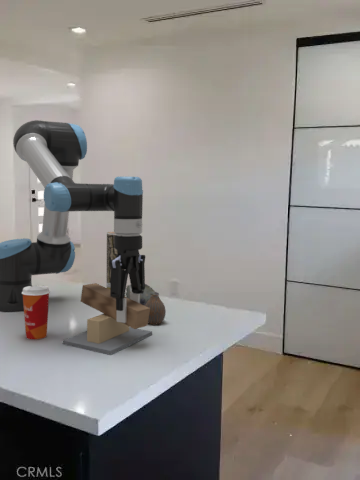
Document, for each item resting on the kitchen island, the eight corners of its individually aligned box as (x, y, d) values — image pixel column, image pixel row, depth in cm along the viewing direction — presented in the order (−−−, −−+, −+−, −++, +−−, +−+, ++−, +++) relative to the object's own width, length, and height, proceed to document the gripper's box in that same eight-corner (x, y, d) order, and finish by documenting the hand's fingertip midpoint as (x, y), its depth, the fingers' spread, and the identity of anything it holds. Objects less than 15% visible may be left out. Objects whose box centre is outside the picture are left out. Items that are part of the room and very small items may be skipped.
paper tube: (120, 299, 185) (121, 233, 182) (103, 297, 186) (104, 232, 184) (126, 295, 192) (126, 232, 189) (109, 294, 193) (110, 231, 190)
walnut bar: (80, 301, 141) (82, 285, 140) (93, 299, 145) (95, 283, 144) (134, 329, 128) (137, 311, 127) (147, 325, 132) (150, 308, 131)
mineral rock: (157, 304, 179) (158, 277, 177) (163, 311, 168) (163, 283, 167) (122, 305, 176) (122, 277, 175) (125, 312, 165) (126, 283, 164)
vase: (138, 322, 153) (139, 295, 153) (154, 318, 159) (155, 292, 158) (154, 327, 149) (154, 299, 148) (169, 323, 154) (170, 295, 153)
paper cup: (20, 334, 139) (20, 285, 138) (48, 331, 142) (47, 284, 141) (23, 342, 132) (22, 291, 131) (52, 339, 135) (52, 289, 134)
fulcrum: (62, 343, 131) (62, 318, 131) (107, 326, 149) (107, 303, 148) (110, 354, 124) (110, 327, 123) (152, 334, 141) (152, 311, 140)
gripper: (119, 238, 120) (119, 329, 123) (158, 232, 137) (157, 313, 139) (95, 236, 124) (95, 325, 126) (136, 231, 140) (135, 310, 143)
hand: (128, 319), depth 133 cm, fingers closed on walnut bar, 6 cm apart
